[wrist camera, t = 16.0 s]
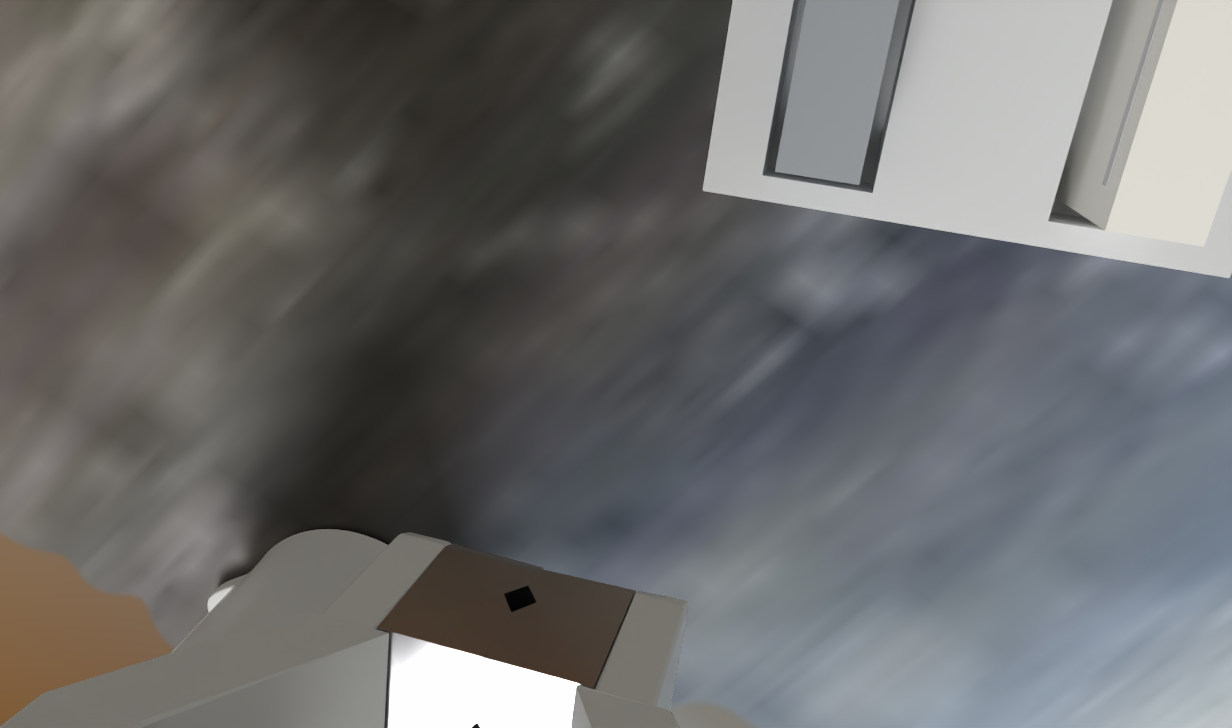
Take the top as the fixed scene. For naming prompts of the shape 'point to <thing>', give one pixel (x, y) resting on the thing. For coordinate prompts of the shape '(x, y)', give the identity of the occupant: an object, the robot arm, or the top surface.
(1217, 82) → the panel
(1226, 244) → the rack
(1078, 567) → the top surface
